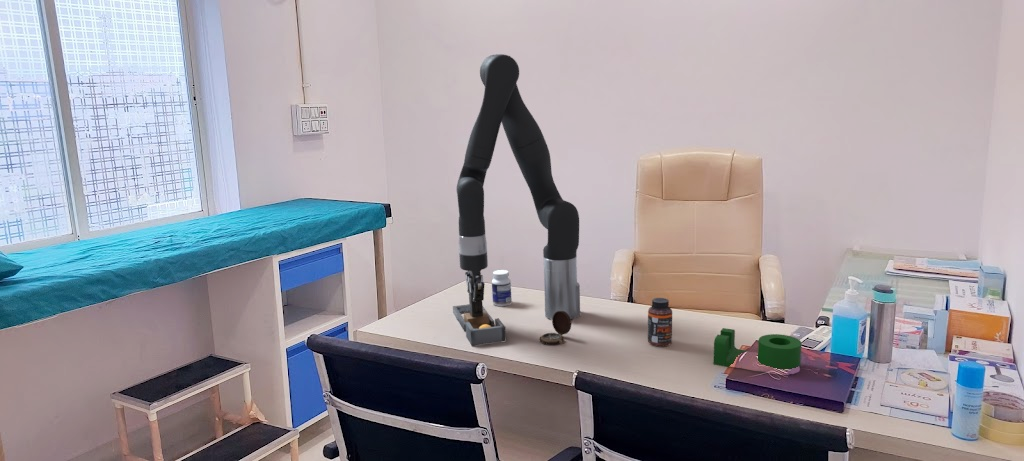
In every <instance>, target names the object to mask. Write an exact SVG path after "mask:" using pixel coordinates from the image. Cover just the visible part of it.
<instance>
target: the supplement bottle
mask: <svg viewBox="0 0 1024 461" xmlns="http://www.w3.org/2000/svg"><path fill="white" fill-rule="evenodd" d="M669 301H670V300H669V299H667V298H665V297H655V298H652V300H651V304H652V305H651V306H650V307H649V308H648V311H647V343H649V344H650V345H652V346H653V347H667V346H670V345H671V344H672V341H673V310H672V308H671V307H669V305H670V304H669V303H670V302H669Z"/></svg>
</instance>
